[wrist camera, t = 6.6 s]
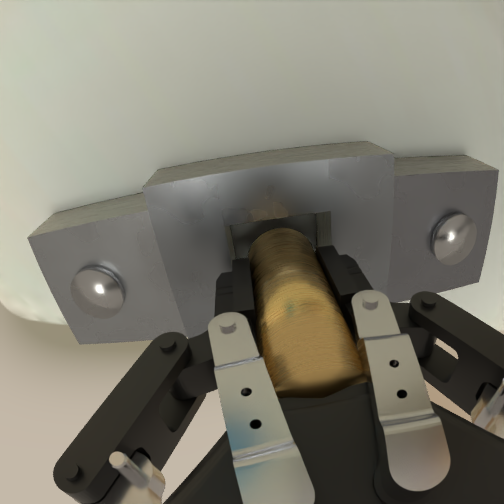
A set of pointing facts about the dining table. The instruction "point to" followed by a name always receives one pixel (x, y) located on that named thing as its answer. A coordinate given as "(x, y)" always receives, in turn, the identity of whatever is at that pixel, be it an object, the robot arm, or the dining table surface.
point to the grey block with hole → (257, 209)
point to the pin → (299, 320)
